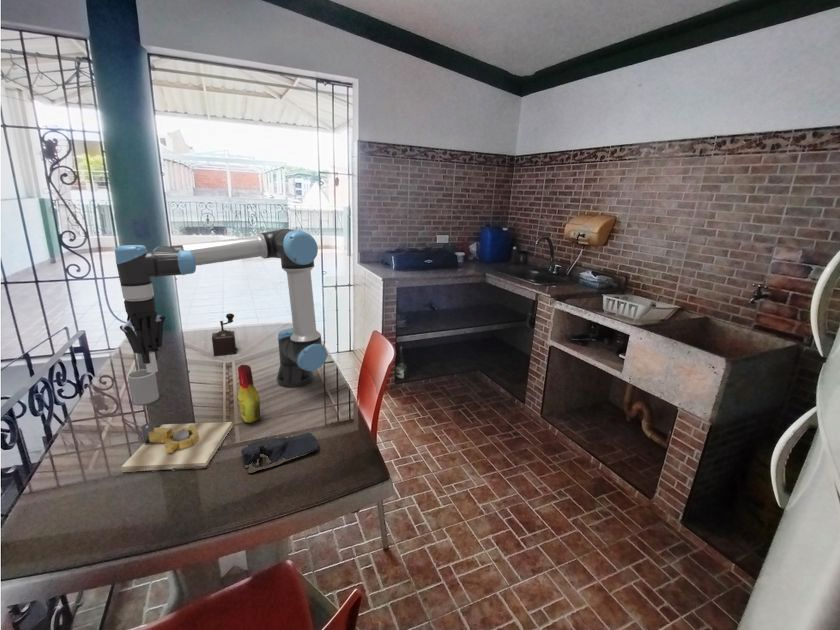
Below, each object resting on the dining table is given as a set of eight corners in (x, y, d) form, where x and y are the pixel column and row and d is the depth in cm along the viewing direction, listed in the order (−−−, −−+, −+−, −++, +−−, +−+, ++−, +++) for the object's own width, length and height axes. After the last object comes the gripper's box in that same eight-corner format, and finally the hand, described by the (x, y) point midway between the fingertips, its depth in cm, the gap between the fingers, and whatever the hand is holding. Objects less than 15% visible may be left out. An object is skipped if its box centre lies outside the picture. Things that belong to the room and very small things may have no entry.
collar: (158, 429, 125) (155, 415, 124) (206, 430, 125) (205, 416, 124) (130, 452, 114) (127, 437, 112) (184, 453, 113) (181, 438, 112)
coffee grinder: (238, 353, 197) (234, 319, 192) (213, 356, 192) (209, 321, 188) (237, 344, 210) (234, 312, 206) (214, 346, 206) (210, 313, 201)
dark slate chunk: (323, 458, 118) (322, 444, 117) (243, 478, 108) (242, 463, 107) (312, 432, 131) (311, 420, 130) (240, 448, 121) (239, 435, 120)
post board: (232, 427, 132) (231, 413, 131) (206, 468, 111) (204, 453, 110) (163, 429, 129) (160, 416, 128) (122, 472, 108) (119, 457, 107)
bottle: (237, 412, 141) (232, 361, 136) (256, 408, 145) (251, 358, 139) (243, 428, 132) (238, 373, 126) (263, 422, 135) (259, 369, 130)
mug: (154, 403, 146) (150, 376, 143) (128, 406, 143) (123, 378, 141) (165, 389, 157) (161, 364, 154) (141, 391, 155) (136, 366, 152)
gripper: (149, 292, 122) (161, 362, 129) (107, 302, 110) (122, 378, 117) (168, 294, 120) (179, 365, 127) (127, 304, 108) (142, 381, 115)
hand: (152, 371), depth 122 cm, fingers closed
